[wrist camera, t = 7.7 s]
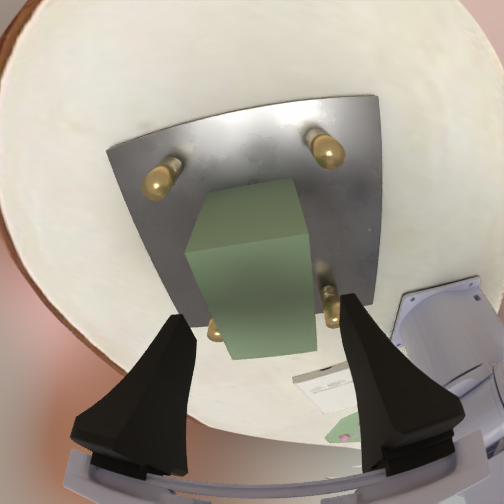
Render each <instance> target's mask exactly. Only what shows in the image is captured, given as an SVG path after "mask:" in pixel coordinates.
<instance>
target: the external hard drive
mask: <svg viewBox="0 0 504 504" xmlns="http://www.w3.org/2000/svg"><path fill="white" fill-rule="evenodd" d="M292 379H293V384H294V385H295V386H296V387H297V388H298V389H299V390H300V391H301V392H302V393H303V394H304V395H305V396H306V397H307V398H308V400H310V402H311V403H312V404H313V405H314V406H315V407H316V408H317V409H318V410H319V411H320V412H321V413H323V414H326V413H330V412H334V411H338V410H341V409H345V408H348V407H352V406H355V405H357V399H356V393H355V388H354V384H353V380H352V376H351V372H350V369H349V365H348V362H343V363H340V364H337V365H334V366H332V367H330V368H327V369H324V370H317V371H314V372H310V373H306V374H303V375H299V376H295V377H292Z"/></svg>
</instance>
